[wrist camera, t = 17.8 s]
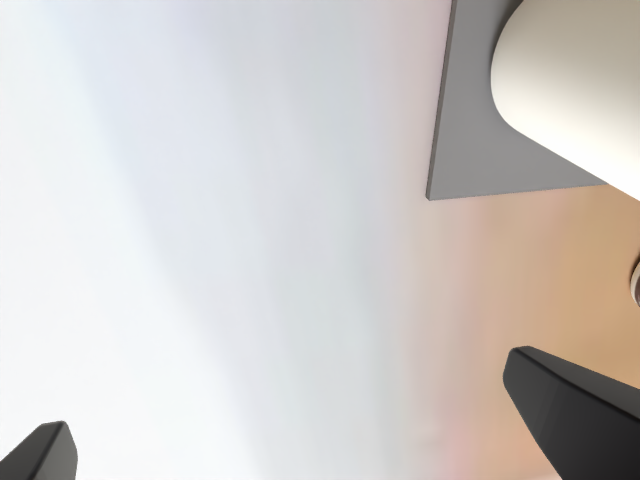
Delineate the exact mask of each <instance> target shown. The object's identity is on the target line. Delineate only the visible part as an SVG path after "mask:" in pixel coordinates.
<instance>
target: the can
mask: <svg viewBox="0 0 640 480" xmlns="http://www.w3.org/2000/svg"><path fill="white" fill-rule="evenodd" d="M491 90H492V96H493V99H494V103H495V105H496V108H497V110H498V112H499V113H500V115H501V116H502V118H503V119H504V120H505V121H506V122H507V123H508V124H509V125H510V126H511V127H513V128H514V129H515V130H517V131H518V132H520V133H522V134H523V135H525V136H527V137H528V138H530V139H532V140H534V141H535V142H537V143H539V144H540V145H542V146H544V147H546V148H547V149H549V150H551V151H553V152H554V153H556V154H558V155H560V156H561V157H563V158H565V159H567V160H568V161H570V162H572V163H574V164H575V165H577V166H579V167H581V168H582V169H584V170H586V171H588V172H590V173H591V174H593V175H595V176H597V177H598V178H600V179H602V180H604V181H605V182H607V183H609V184H611V185H612V186H614V187H616V188H618V189H620V190H621V191H623V192H625V193H627V194H628V195H630V196H632V197H634V198H635V199H637V200H639V201H640V0H524V1H523V2H522V3H521V4H520V5H519V6H518V8H517V9H516V10H515V12H514V13H513V14H512V16H511V17H510V18H509V20H508V22H507V23H506V25H505V27H504V29H503V31H502V33H501V35H500V37H499V40H498V42H497V45H496V48H495V52H494V55H493V60H492V66H491Z"/></svg>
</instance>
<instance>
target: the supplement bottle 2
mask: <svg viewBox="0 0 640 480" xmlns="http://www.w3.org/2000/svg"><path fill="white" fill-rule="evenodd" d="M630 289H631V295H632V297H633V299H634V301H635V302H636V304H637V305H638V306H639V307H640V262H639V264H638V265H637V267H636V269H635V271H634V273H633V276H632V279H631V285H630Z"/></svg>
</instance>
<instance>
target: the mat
mask: <svg viewBox="0 0 640 480" xmlns="http://www.w3.org/2000/svg"><path fill="white" fill-rule="evenodd" d="M523 1H524V0H453V1H452V8H451V16H450V23H449V30H448V38H447V45H446V52H445V60H444V67H443V74H442V81H441V89H440V96H439V103H438V111H437V118H436V125H435V133H434V140H433V147H432V155H431V162H430V169H429V177H428V184H427V191H426V198H427V199H428V200H429V201H432V200H443V199H453V198H464V197H475V196H486V195H497V194H507V193H518V192H529V191H540V190H551V189H561V188H572V187H583V186H594V185H605V184H609V183H607V182H605V181H604V180H602V179H600V178H598V177H597V176H595V175H593V174H591V173H590V172H588V171H586V170H584V169H582V168H581V167H579V166H577V165H575V164H574V163H572V162H570V161H568V160H567V159H565V158H563V157H561V156H560V155H558V154H556V153H554V152H553V151H551V150H549V149H547V148H546V147H544V146H542V145H540V144H539V143H537V142H535V141H534V140H532V139H530V138H528V137H527V136H525V135H523V134H522V133H520V132H518V131H517V130H515V129H514V128H513V127H511V126H510V125H509V124H508V123H507V122H506V121H505V120H504V119H503V118H502V116H501V115H500V113H499V112H498V110H497V108H496V105H495V103H494V99H493V96H492V90H491V66H492V60H493V55H494V52H495V48H496V45H497V42H498V40H499V37H500V35H501V33H502V31H503V29H504V27H505V25H506V23H507V22H508V20H509V18H510V17H511V16H512V14H513V13H514V12H515V10H516V9H517V8H518V6H519V5H520V4H521V3H522V2H523Z"/></svg>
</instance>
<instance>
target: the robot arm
mask: <svg viewBox="0 0 640 480" xmlns="http://www.w3.org/2000/svg"><path fill="white" fill-rule="evenodd" d="M503 383H504V386H505V388H506V390H507V392H508V394H509V395H510V397H511V399H512V401H513V402H514V404H515V406H516V408H517V410H518V411H519V413H520V415H521V417H522V418H523V420H524V422H525V424H526V425H527V427H528V429H529V431H530V433H531V434H532V436H533V438H534V439H535V441H536V443H537V444H538V446H539V447H540V449H541V450H542V452H543V453H544V454H545V456H546V457H547V459H548V460H549V461H550V463H551V464H552V466H553V467H554V469H555V470H556V471H557V473H558V474H559V476H560V477H561V478H562V480H640V389H637V388H635V387H632V386H630V385H627V384H625V383H622V382H620V381H617V380H615V379H612V378H610V377H607V376H604V375H602V374H599V373H597V372H594V371H592V370H589V369H587V368H584V367H582V366H579V365H577V364H574V363H572V362H569V361H566V360H564V359H561V358H559V357H556V356H554V355H551V354H549V353H546V352H544V351H541V350H539V349H536V348H534V347H531V346H522V347H516V348H513V349H511V350H510V352H509V355H508V358H507V362H506V365H505V369H504V372H503ZM77 461H78V456H77V449H76V446H75V443H74V441H73V438H72V435H71V432H70V430H69V427H68V425H67V423H66V422H65V421H56V422H50V423H44V424H41V425H40V426H39V427H37V428H36V429H35V430H34V431H33V432H32V433H31V434H30V435H29V436H27V437H26V438H25V439H24V440H23V441H22V442H21V443H20V444H19V445H18V446H17V447H15V448H14V449H13V450H12V451H11V452H10V453H9V454H8V455H7V456H6V457H5V458H4V459H2V460H1V461H0V480H75V476H76V470H77Z"/></svg>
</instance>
